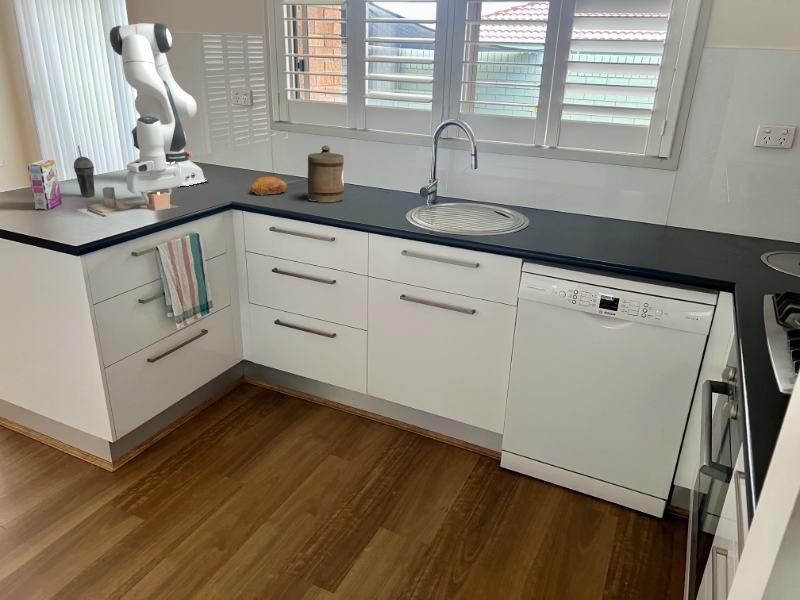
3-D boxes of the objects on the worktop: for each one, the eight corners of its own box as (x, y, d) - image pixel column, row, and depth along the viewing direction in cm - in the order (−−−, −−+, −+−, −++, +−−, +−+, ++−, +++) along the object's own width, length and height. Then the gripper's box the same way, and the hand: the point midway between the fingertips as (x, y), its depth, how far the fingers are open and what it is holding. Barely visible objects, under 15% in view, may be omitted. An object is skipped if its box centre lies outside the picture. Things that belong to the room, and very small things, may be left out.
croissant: (289, 200, 256) (291, 181, 253) (253, 197, 249) (255, 178, 246) (280, 192, 268) (282, 174, 265) (245, 189, 261) (247, 171, 258)
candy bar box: (49, 210, 216) (41, 164, 210) (35, 210, 216) (26, 164, 210) (63, 203, 226) (55, 159, 220) (49, 203, 226) (41, 159, 220)
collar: (161, 203, 225) (160, 190, 223) (170, 206, 222) (168, 193, 220) (146, 206, 221) (145, 192, 219) (155, 209, 217) (153, 195, 216)
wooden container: (350, 200, 250) (351, 146, 242) (323, 204, 240) (323, 149, 232) (327, 194, 260) (327, 142, 251) (300, 198, 249) (299, 144, 241)
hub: (119, 205, 226) (116, 183, 223) (135, 211, 219) (132, 188, 216) (87, 210, 217) (83, 187, 214) (103, 216, 211) (99, 193, 207)
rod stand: (164, 205, 228) (162, 187, 226) (178, 210, 223) (176, 192, 220) (139, 210, 221) (136, 191, 219) (153, 215, 215) (151, 195, 213)
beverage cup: (102, 194, 242) (94, 144, 234) (91, 198, 235) (83, 147, 228) (85, 193, 242) (77, 143, 235) (74, 197, 236) (65, 146, 228)
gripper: (174, 159, 225) (178, 196, 230) (122, 165, 210) (127, 204, 215) (184, 162, 221) (187, 198, 226) (131, 168, 206) (136, 207, 212)
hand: (157, 201), depth 221 cm, fingers closed on collar, 6 cm apart
